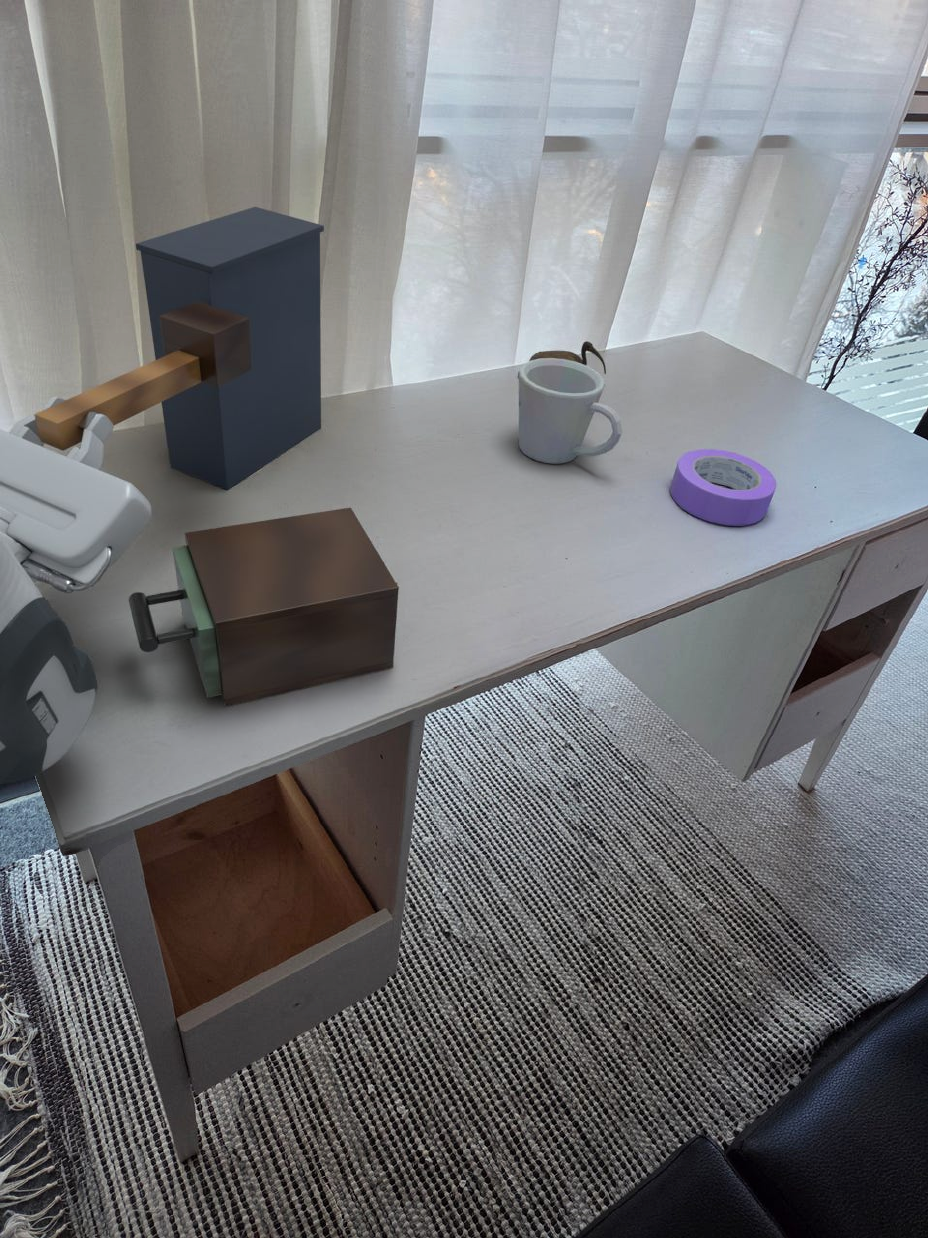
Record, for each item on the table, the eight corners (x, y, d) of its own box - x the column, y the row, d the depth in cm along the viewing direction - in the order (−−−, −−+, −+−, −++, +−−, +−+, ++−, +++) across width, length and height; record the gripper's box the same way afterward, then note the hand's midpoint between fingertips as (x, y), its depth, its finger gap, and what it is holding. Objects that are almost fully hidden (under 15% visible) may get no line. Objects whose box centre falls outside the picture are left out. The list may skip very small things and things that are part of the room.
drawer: (153, 710, 66) (139, 641, 61) (132, 623, 73) (118, 556, 68) (366, 661, 73) (369, 596, 68) (328, 586, 80) (328, 522, 75)
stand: (231, 491, 92) (211, 266, 76) (166, 466, 94) (135, 243, 79) (324, 429, 104) (324, 225, 89) (265, 407, 107) (255, 206, 92)
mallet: (80, 458, 65) (68, 398, 61) (23, 435, 66) (8, 375, 63) (252, 369, 79) (249, 317, 76) (202, 352, 81) (197, 300, 78)
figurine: (607, 410, 117) (621, 350, 111) (585, 417, 115) (598, 356, 109) (538, 371, 125) (549, 313, 119) (516, 377, 122) (526, 318, 117)
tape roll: (662, 470, 106) (670, 443, 103) (752, 479, 106) (762, 452, 104) (679, 522, 97) (688, 494, 94) (777, 531, 97) (789, 503, 95)
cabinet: (225, 707, 68) (215, 623, 62) (195, 614, 76) (184, 532, 70) (393, 668, 74) (399, 587, 68) (349, 585, 82) (350, 507, 76)
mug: (542, 421, 112) (555, 350, 106) (633, 468, 105) (653, 395, 99) (490, 444, 106) (501, 369, 99) (583, 496, 99) (601, 419, 92)
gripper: (57, 582, 57) (168, 425, 61) (-146, 486, 63) (-32, 348, 67) (105, 618, 63) (204, 472, 67) (-85, 527, 69) (17, 398, 73)
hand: (84, 409), depth 67 cm, fingers closed on mallet, 2 cm apart
